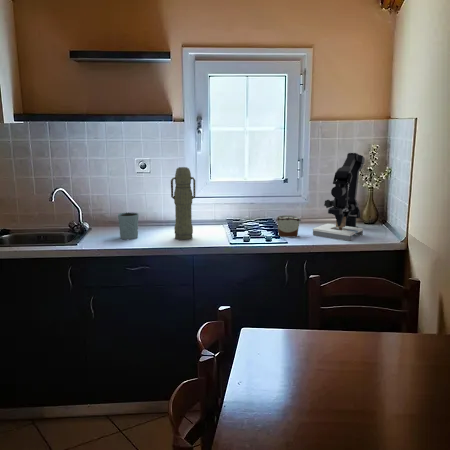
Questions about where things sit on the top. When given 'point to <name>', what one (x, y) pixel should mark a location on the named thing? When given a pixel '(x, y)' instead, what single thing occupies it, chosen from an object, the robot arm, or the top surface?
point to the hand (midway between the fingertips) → (340, 225)
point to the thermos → (183, 203)
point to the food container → (288, 225)
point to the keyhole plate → (337, 232)
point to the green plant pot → (128, 225)
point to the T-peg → (341, 223)
